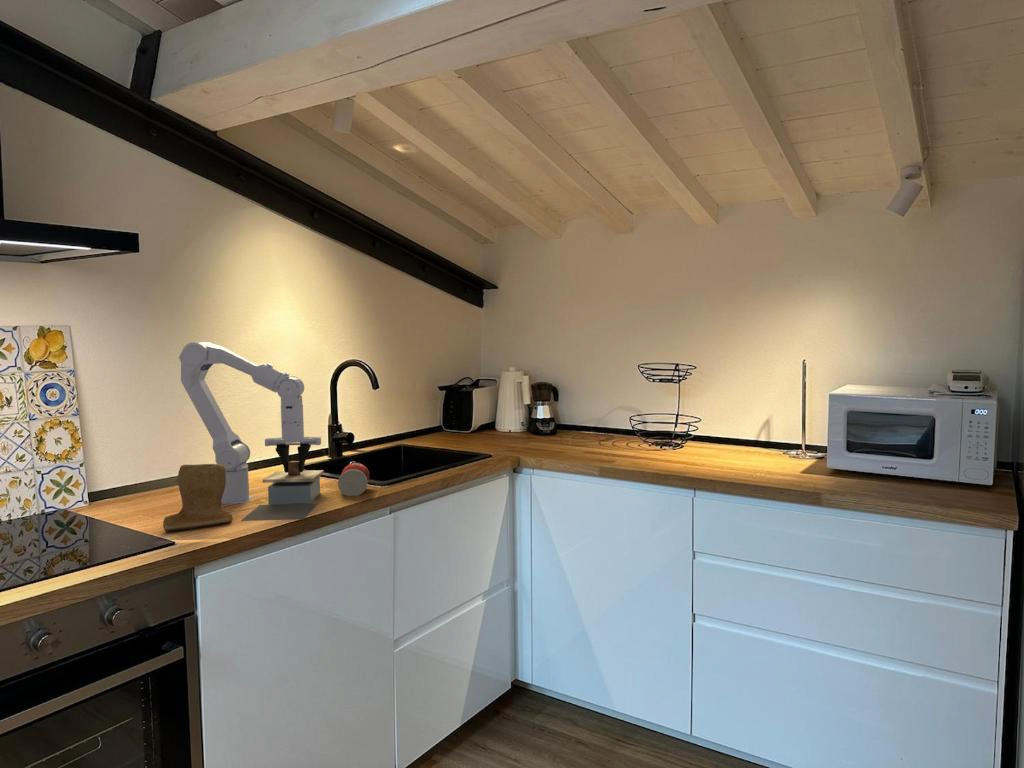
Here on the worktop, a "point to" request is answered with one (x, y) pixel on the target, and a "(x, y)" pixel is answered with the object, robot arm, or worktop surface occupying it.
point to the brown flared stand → (199, 497)
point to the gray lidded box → (293, 492)
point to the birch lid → (293, 474)
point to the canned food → (353, 479)
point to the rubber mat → (280, 512)
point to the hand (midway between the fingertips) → (294, 471)
